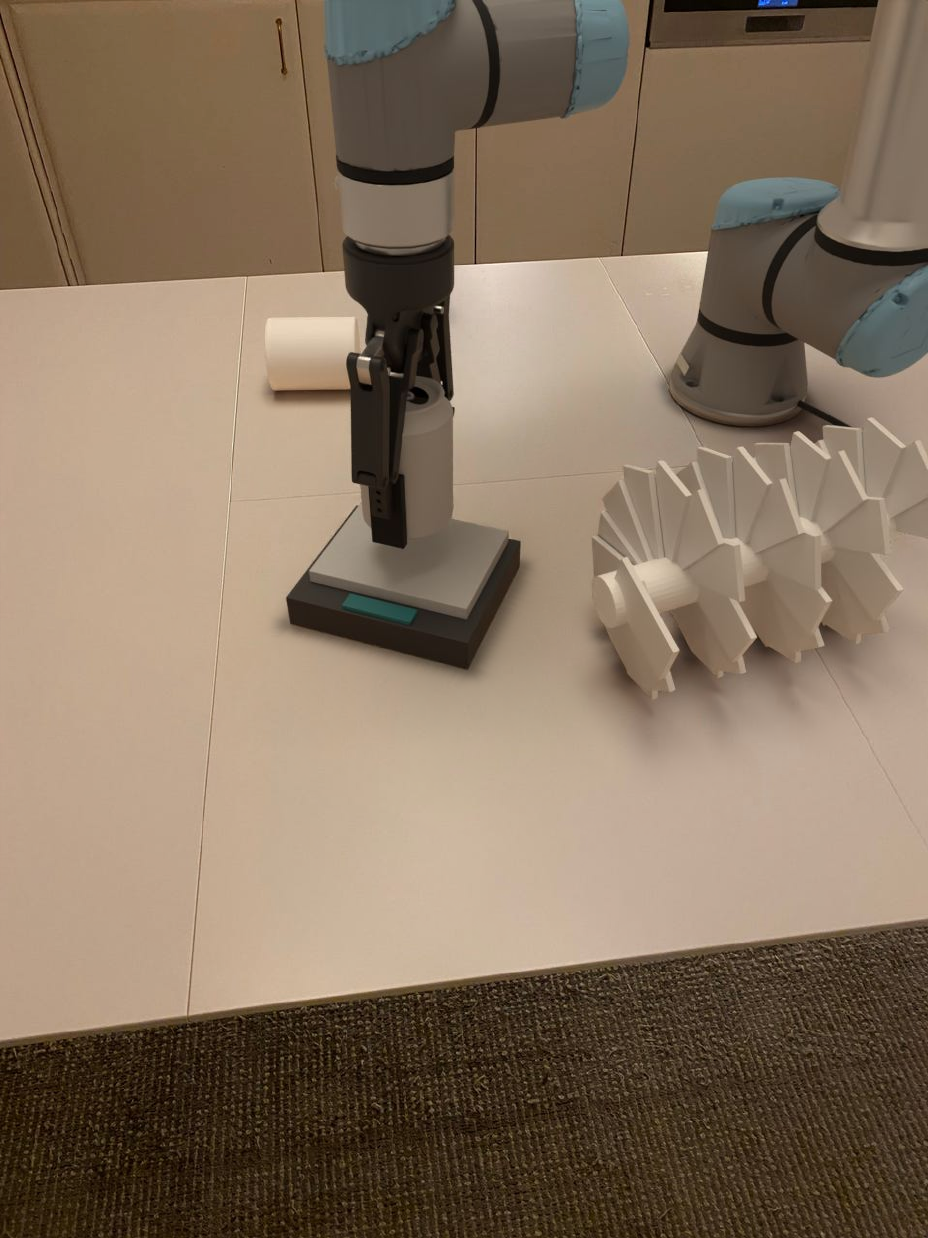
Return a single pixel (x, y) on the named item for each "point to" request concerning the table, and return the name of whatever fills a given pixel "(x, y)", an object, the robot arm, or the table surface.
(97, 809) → the table surface
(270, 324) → the white coffee cup
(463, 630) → the scale
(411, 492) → the can
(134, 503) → the table surface
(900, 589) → the spiral staircase
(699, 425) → the table surface
